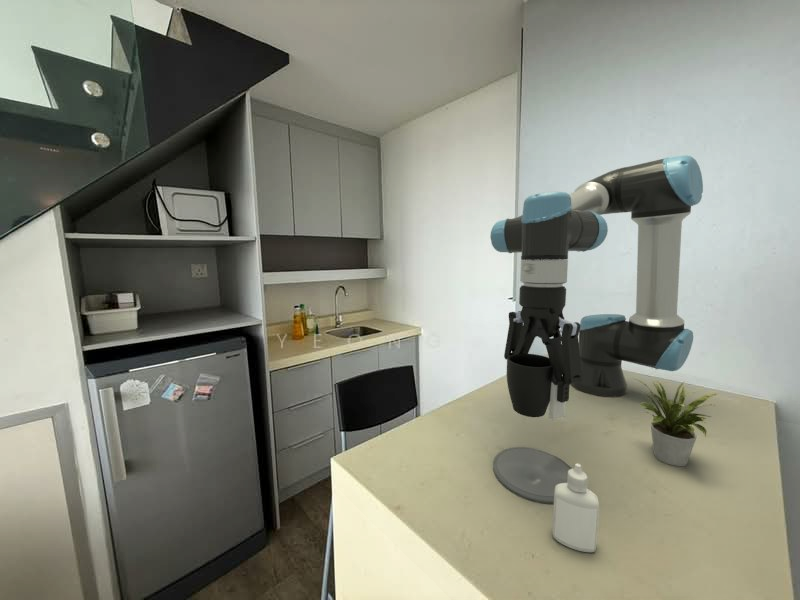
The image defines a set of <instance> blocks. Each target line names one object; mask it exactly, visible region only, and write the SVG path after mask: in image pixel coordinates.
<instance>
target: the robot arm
mask: <svg viewBox="0 0 800 600" xmlns="http://www.w3.org/2000/svg"><path fill="white" fill-rule="evenodd" d="M703 183H704V182H703V176H702V172H701V168H700V165H699V163H698V162H697V160H696V159H695V158H694V157H693V156H691V155H687V154H685V155H678V156H677V155H676V156H672V157H671V156H670V157H664V158H661V159H657V160H653V161H647V162H644V163H639V164H634V165H631V166H625V167H620V168H616V169H614V170H610V171H608V172H606V173H604V174H602V175H598V176H597V177H595V178H593V179H590V180H588V181H586V182H584V183H582V184H580V185H579V186H578V187H576V189H575V190H574V191H573V192H571V193H568V192H564V191H546V192H539V193H533V194H531V195H529V196H528V197H526V198H525V199H524V201H523V207H522V214H521V215H519V216H517V217H514V218H505V219H502V220H498V221H496V222H495V223H494V225H493V226H492V228H491V230H490V241H491V242H490V243H491V246H492V247H493V249H494V250H495V251H496V252H498V253H499V252H500V253H508V254H512V253H517V254H518V253H521V255H520V282H521V283H522V284H523V285H521V286H520V287H519V298H518V300H519V301H518V303H519V305H520V307H521V310H518V311H517V310H516V311H510V312H508V323H509V325H508V329H507V335H506V337H507V338H506V341H505V347H504V348H505V349H504V354H503V355H504V359H505V360H506V361H507V358H508V356H510V355H513V354H529V352H530V350H531V348H532V346H533V343H534V341H535V338H537V337H538V338H540V339H541V343H542V344H543V345H544V346H545V348H546V352H547V355H548V356H547V357H548V358H549V359H550V363H551V366H553V373H554V377H555V380H556V381H553V382H551V394H550V403H549V416H548V417H549V419H550V420H551V421H555V420H558V419H561V418H564V417H565V411H566V408H565V406H566V402H568V401H569V399H570V386H572V387H573V388H575V390H578V391H581V392H583V393H587V394H590V395H594V396H601V397H610V398H613V397H614V398H615V397H621V396H625V395H626V394H627V389H628V388H627V387H628V384H627V382H626V378H625V375H624V371H623V368H622V361H624V362H626V363H627V362H628V363H632V364H636V365H639V366H644V367H649V368H652V369H655V370H662V371H667V372H676V371H678V370H680V369H681V368H682V367H683V366H684V364H685V363H686V362H687V360H688V357H689V355H690V352H691V351H692V350H691V349H692V346H693V341H694V332H693V331H692V330H690V329H689V328H685V320H684V319H683V318H682V317H681V316H680V315H678V299H679V282H680V281H679V280H680V265H681V264H680V263H681V261H680V260H681V247H682V246H681V245H682V244H681V243H682V227H683V226H682V223H683V220H684V219H685V218H687V216H689V215H690V214H691V211H692V207H694V206H696V205H698V204H699V203H701V200H702V197H703V195H702V194H703V192H704V188H703V187H704V184H703ZM621 213H622V214H623V213H631V214H630V215H631V217H630V220H632V222H634V223H636V224H637V256H636V257H637V259H636V260H637V263H636V297H635V298H636V300H635V303H636V304H635V305H636V307H635V313H633V314H632V315H631V316H629V320H627V318H626V316H625V315H624V314H618V313H617V314H616V313H613V314H612V313H608V314H607V313H604V314H601V313H600V314H589V315H585V316H583V317H582V318H581V319H580V323H579V322H577V321H575V322H572V321H569V320H566V319H565V316H564V315H563V310H564V308H565V307H566V301H567V299H566V297H567V288H566V286H563V285H564V284H566V283H567V282H568V266H569V263H568V262H569V252H578V253H579V252H583V253H584V252H588V251H592V250H594V249H597V248H599V246H600V245H602V244H603V243H604V242H605V240H606V238H607V235H608V230H609V229H608V222H607V221H606V219H605V218H604V217H603V216H602V215H611V214H621Z"/></svg>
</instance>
